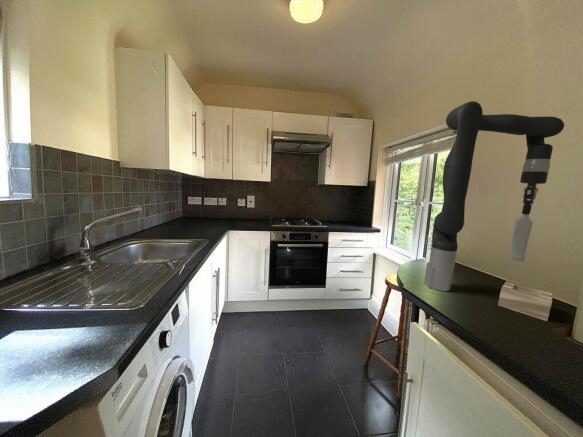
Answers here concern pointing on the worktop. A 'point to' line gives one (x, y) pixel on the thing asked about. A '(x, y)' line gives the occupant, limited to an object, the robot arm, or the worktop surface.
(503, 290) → the socket holder
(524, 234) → the bottle
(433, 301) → the worktop surface
